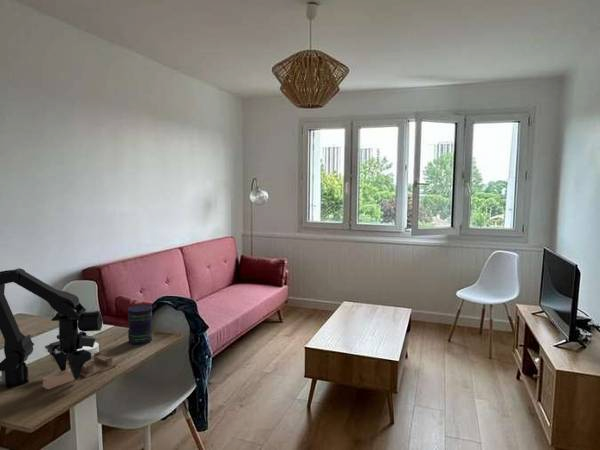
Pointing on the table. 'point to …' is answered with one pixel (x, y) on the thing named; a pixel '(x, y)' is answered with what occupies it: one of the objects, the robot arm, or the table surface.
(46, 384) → the pinkish tan rectangular block
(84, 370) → the tan two-rail tray
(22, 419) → the table surface
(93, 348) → the coaster
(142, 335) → the storage jar
